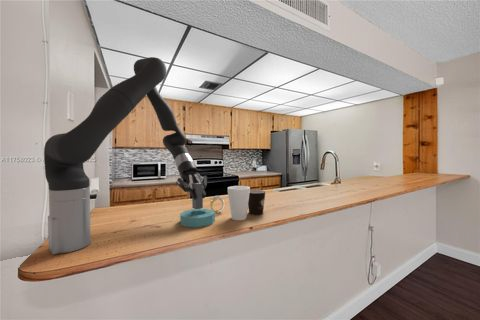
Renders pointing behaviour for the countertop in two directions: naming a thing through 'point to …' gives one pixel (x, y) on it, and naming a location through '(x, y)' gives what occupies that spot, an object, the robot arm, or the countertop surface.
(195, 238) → the countertop surface
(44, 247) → the countertop surface
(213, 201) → the bracelet
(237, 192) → the foam cup
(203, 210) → the teal ring
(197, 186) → the gray rectangular block
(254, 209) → the coffee mug
